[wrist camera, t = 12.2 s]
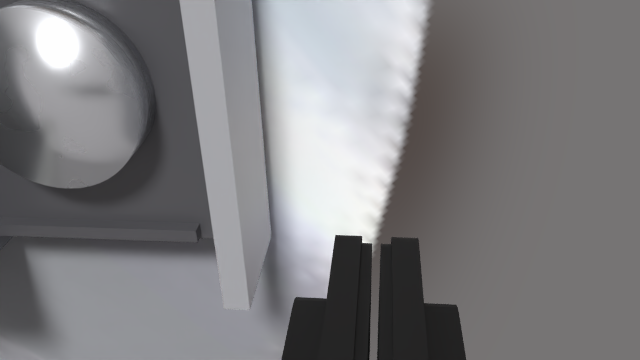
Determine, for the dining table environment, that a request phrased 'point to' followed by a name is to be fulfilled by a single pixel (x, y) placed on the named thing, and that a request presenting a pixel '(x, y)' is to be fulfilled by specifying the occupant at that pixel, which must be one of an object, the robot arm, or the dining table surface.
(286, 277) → the dining table surface
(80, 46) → the disc
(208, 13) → the tray
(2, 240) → the grey drawer box
